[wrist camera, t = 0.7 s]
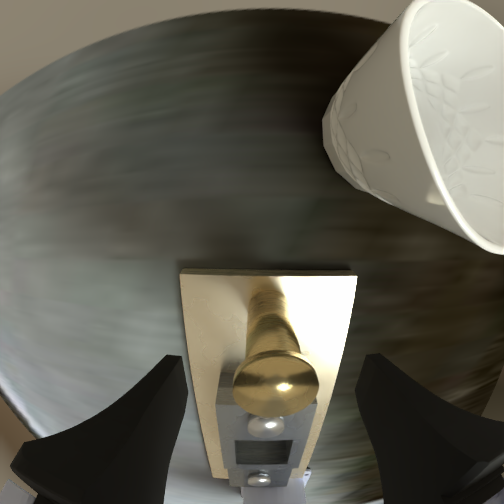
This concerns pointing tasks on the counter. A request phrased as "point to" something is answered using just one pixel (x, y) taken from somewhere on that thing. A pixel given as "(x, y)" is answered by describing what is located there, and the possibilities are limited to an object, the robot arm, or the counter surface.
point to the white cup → (428, 119)
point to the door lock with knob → (233, 354)
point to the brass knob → (273, 361)
